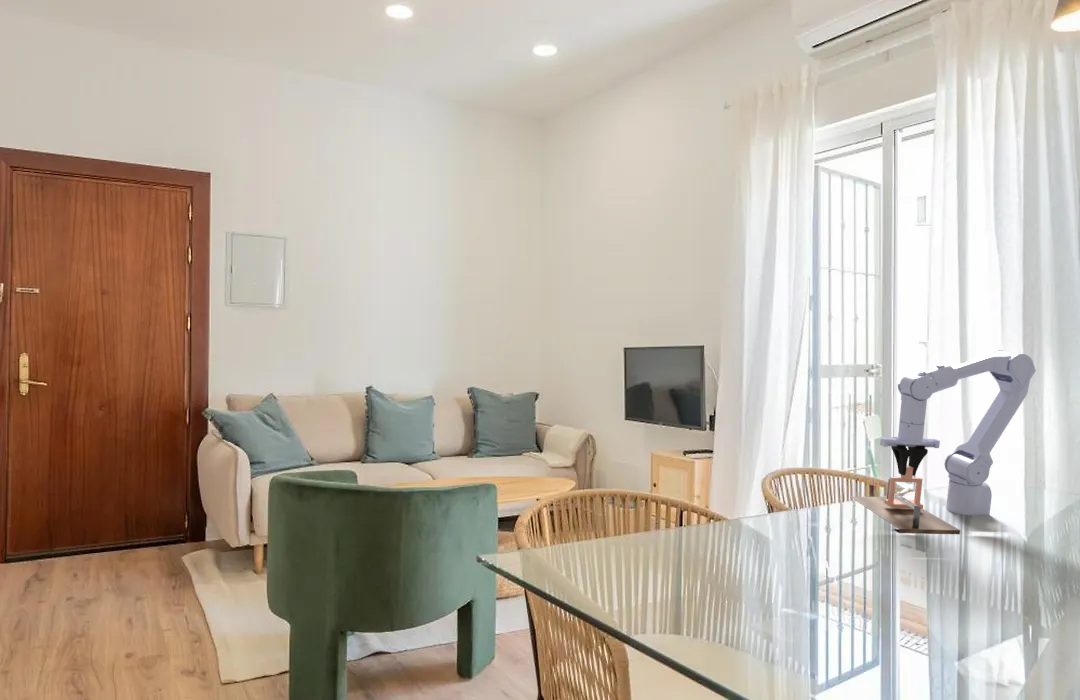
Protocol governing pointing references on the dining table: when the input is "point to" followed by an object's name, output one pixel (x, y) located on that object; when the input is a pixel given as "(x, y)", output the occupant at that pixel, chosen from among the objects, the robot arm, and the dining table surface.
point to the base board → (907, 517)
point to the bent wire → (907, 503)
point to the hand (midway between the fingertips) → (906, 474)
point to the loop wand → (904, 478)
